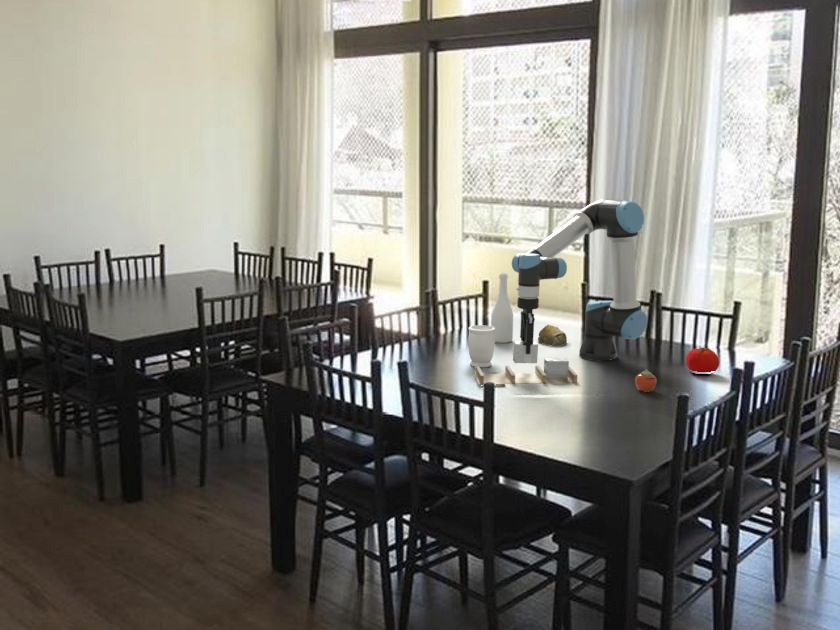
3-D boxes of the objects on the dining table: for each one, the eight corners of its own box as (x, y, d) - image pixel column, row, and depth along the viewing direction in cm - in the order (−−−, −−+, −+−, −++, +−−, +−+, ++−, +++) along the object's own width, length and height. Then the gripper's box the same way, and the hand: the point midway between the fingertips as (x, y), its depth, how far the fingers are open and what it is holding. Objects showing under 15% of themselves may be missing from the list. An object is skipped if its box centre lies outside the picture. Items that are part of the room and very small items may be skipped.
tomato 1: (643, 394, 303) (644, 372, 301) (629, 389, 309) (631, 367, 308) (660, 392, 305) (662, 370, 304) (647, 387, 312) (648, 365, 311)
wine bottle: (513, 343, 379) (515, 275, 374) (491, 343, 379) (493, 274, 374) (511, 338, 389) (513, 272, 383) (490, 338, 389) (491, 271, 383)
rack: (569, 375, 326) (569, 365, 326) (579, 386, 312) (580, 376, 311) (473, 376, 324) (473, 366, 323) (479, 387, 309) (479, 376, 308)
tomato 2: (692, 368, 340) (694, 342, 338) (723, 374, 331) (725, 348, 329) (677, 373, 332) (679, 346, 330) (709, 379, 324) (711, 352, 322)
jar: (492, 369, 335) (493, 331, 332) (465, 367, 337) (466, 329, 334) (495, 362, 345) (496, 325, 342) (469, 361, 347) (470, 324, 344)
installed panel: (565, 376, 321) (565, 358, 320) (567, 379, 317) (568, 361, 316) (543, 376, 321) (544, 358, 320) (546, 380, 316) (546, 361, 315)
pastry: (537, 339, 389) (537, 321, 388) (565, 340, 388) (566, 322, 387) (538, 346, 376) (539, 328, 374) (567, 347, 374) (568, 329, 373)
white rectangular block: (534, 360, 319) (535, 341, 318) (537, 363, 315) (538, 344, 314) (512, 360, 319) (513, 341, 317) (515, 362, 314) (516, 344, 313)
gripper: (513, 293, 321) (511, 355, 325) (522, 301, 304) (519, 366, 308) (533, 293, 321) (531, 355, 326) (543, 301, 304) (540, 366, 308)
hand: (525, 360), depth 317 cm, fingers closed on white rectangular block, 4 cm apart
